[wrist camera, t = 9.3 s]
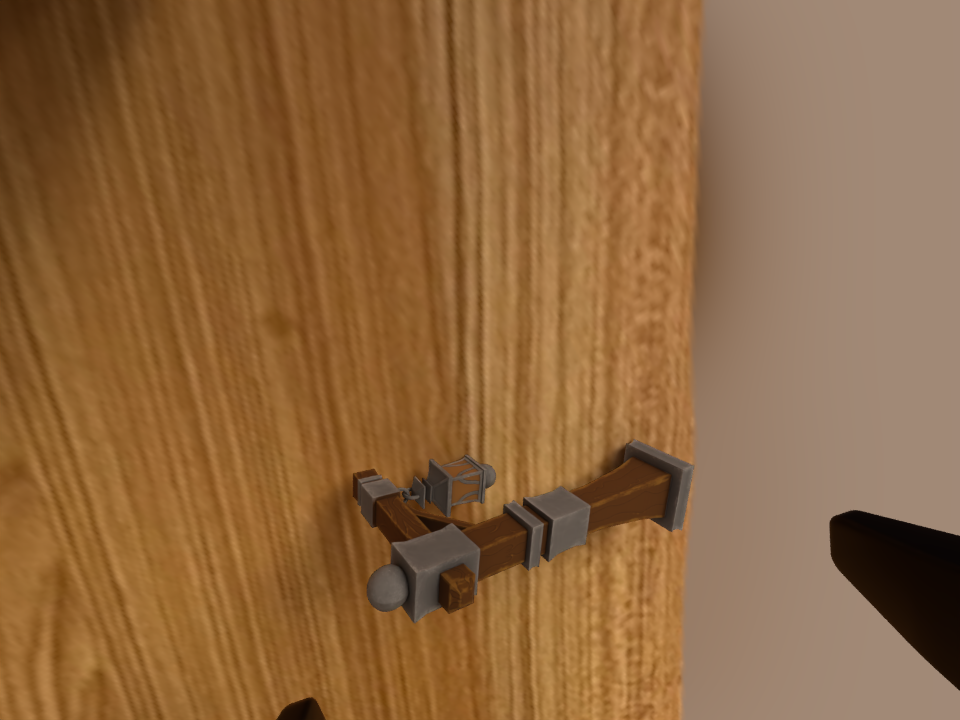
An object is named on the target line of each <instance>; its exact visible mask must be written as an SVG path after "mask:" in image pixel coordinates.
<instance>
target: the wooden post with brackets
mask: <svg viewBox="0 0 960 720" xmlns="http://www.w3.org/2000/svg"><path fill="white" fill-rule="evenodd" d="M693 469H694V466H693V465H691V464H689V463H687V462H684V461H682V460H680V459H678V458H675V457H673V456H671V455H669V454H666V453H664V452H662V451H660V450H657V449H655V448H653V447H651V446H648V445H646V444H644V443H642V442H639V441H637V440H635V439H634V440H633V442H632V443H630V444H627V443H626V449H625V456H624V462H623V464H622V465H621V466H620V467H618V468H616V469H614V470H613V471H611V472H609V473H607V474H605V475H603V476H601V477H600V478H598V479H596V480H594V481H592V482H590V483H589V484H587V485H585V486H582V487H579V488H577V489H574V490H571V491H567V490H566V489H564V488H563V487H561V486H560V487H558V488H557V489H555V490H554V491H552V492H549V493H546V494H543V495H539V496H536V497H523V507H522V506H520V505H519V504H518V503H516V502H515V501H514V500H513V501H512V502H511V503H510V504H504V508H503V514H502V515H499V516H497V517H494V518H492V519H489V520H487V521H484V522H481V523H479V524H476V525H475V524H471V523H467V522H463V521H459V520H455V519H451V518H447V517H450V514H451V507H452V506H453V505H458V504H463V503H468V502H474V501H476V502H480V503H481V504H483V503H484V499H485V489H487V488H489V487H490V486H492V485H493V484H494V482H495V479H496V473H495V470H494V469H493V468H492V466H490V465H487V464H479V463H478V462H476V461H475V460H474V459H472V458H471V457H470V456H469V455H465V457H464V458H463V459H461V460H459V461H456V462H453V463H449V464H446V465H443V466H440V465H439V464H438V463H437V462H435V461H434V460H433V459H430V460H429V472H428V477H427V480H425V479H424V478H422V483H421V482H420V481H419V480H418V479H417V478H416V476H414V479H413V484H412V487H411V488H407V489H406V488H396V487H395V485H394V484H393V483H392V482H391V481H390V480H389V479H388V478H387V479H382V476H381V475H378V474H377V472H376V471H375V469H371V470H366V471H361V472H357V473H353V497H354V498H355V499H356V500H357V501H358V505H359V506H361V513H362V515H363V516H364V517H365V519H366V520H367V521H368V523H369V524H370V526H371V527H372V528H374V527H378V528H379V529H380V531H381V532H382V533H383V534H384V536H385V537H386V538H387V540H388V541H389V542H390V544H391V564H388V565H384V566H382V567H380V568H379V569H377V570H376V571H375V572H374V573H373V574H372V575H371V577H370V578H369V581H368V584H367V597H368V600H369V602H370V603H371V605H372V606H373V607H374V608H376V609H377V610H379V611H382V612H388V611H392V610H395V609H397V608H398V607H400V606H402V607H403V608H404V610H405V611H406V613H407V614H408V615H409V617H410V618H411V620H412V621H413V623H416V622H417V621H418V620H420V619H421V618H422V617H423V616H425V615H426V614H428V613H430V612H432V611H434V610H436V609H439V608H441V607H443V608H444V609H445V610H446V611H447V612H448V614H449V613H452V612H454V611H456V610H459V609H461V608H463V607H466V606H468V605H470V604H473V603H474V595H477V583H478V581H480V580H483V579H485V578H487V577H490V576H492V575H494V574H497V573H499V572H501V571H504V570H506V569H508V568H511V567H513V566H515V565H518V564H520V563H521V564H522V565H523V566H524V567H525V568H526V569H527V570H528V571H529V570H530V569H531V568H532V567H535V566H537V567H539V561H540V555H541V556H542V557H543V558H544V559H546V560H547V561H548V562H549V561H550V560H552V559H553V558H554V557H555V556H556V555H557V554H559V553H561V552H563V551H565V550H567V549H570V548H572V547H574V546H577V545H585V544H586V537H587V534H590V533H592V532H595V531H598V530H600V529H603V528H606V527H611V526H615V525H620V524H624V523H628V522H633V521H637V520H642V519H651V520H652V521H654V522H656V523H657V524H659V525H661V526H662V527H664V528H666V529H667V530H669V531H671V532H672V531H673V530H675V529H679V530H682V528H683V522H684V517H685V512H686V507H687V501H688V496H689V491H690V485H691V480H692V475H693ZM400 491H403V492H402V495H403V497H404V498H405V499H404V501H402V500H401V499H400ZM409 491H411V496H410V494H409ZM408 499H409V500H415V501H416V502H417V503H418V504H419V505H420V506H421V507H422V508H423V509H425V499H426V500H427V501H428V502H429V503H431V501H432V502H433V503H434V504H435V505H436V506H437V507H438V508H439V509H440V511H441V512H442V513H443V514H444V515H445V516H446V517H443V516H439V515H435V514H431V513H428V512H424V511H420V510H416V509H414V508H412V507H411V506H409V505H408V504H406V502H407V501H408Z"/></svg>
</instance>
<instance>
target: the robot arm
mask: <svg viewBox="0 0 960 720" xmlns="http://www.w3.org/2000/svg"><path fill="white" fill-rule="evenodd" d="M830 547H831V557H832V560H833V562H834V564H835V566H836V567H837V568H838V570H839V571H840V572H841V573H842V574H843V575H844V576H845V577H846V578H847V579H848V580H849V581H850V582H851V583H852V584H853V586H854V587H855V588H856V589H857V590H858V591H859V592H860V593H861V594H862V595H863V596H864V597H865V598H866V599H867V600H868V601H869V602H870V603H871V604H872V605H873V606H874V607H875V608H876V609H877V610H878V611H879V613H880V614H881V615H882V616H883V617H884V618H885V619H886V620H887V621H888V622H889V623H890V624H891V625H892V626H893V627H894V628H895V629H896V630H897V631H898V632H899V633H900V634H901V635H902V636H903V637H904V638H905V639H906V641H907V642H908V643H910V644H911V646H913V648H915V649H916V650H917V651H918V653H919V654H920V655H922V656H923V657H924V658H925V659H926V660H927V661H928V662H929V663H930V664H931V665H932V666H933V667H934V668H935V669H936V670H937V671H939V672H940V673H941V674H942V675H943V676H944V677H945V678H946V679H947V680H949V681H950V682H951V683H952V684H953V685H954V686H955V687H956V688H957V689H958V690H960V536H958V535H954V534H950V533H946V532H942V531H938V530H934V529H931V528H926V527H922V526H918V525H915V524H911V523H907V522H903V521H899V520H895V519H891V518H887V517H882V516H879V515H874V514H871V513H867V512H863V511H858V510H853V511H848V512H845V513H842V514H840V515H836V516H834V517H833V518H832V519H831V520H830ZM276 720H326V719H325V717H324V715H323V713H322V711H321V709H320V707H319V704H318V703H317V701H316V700H315V699H314V698H312V697H311V698H306V699H303V700H300V701H297V702H294V703H291V704H289V705H288V706H286V707H285V708H284V709H283V710H282V712H281V713H280V715H279V716H278V718H277V719H276Z"/></svg>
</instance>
